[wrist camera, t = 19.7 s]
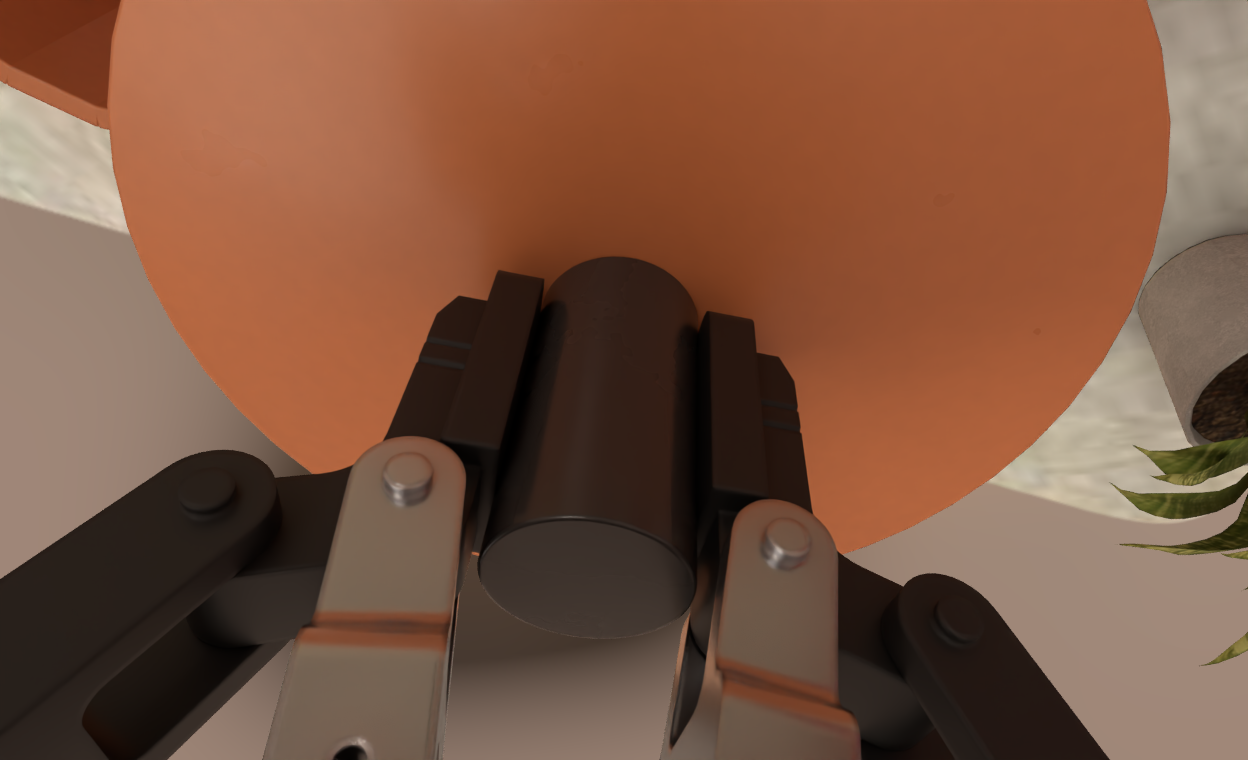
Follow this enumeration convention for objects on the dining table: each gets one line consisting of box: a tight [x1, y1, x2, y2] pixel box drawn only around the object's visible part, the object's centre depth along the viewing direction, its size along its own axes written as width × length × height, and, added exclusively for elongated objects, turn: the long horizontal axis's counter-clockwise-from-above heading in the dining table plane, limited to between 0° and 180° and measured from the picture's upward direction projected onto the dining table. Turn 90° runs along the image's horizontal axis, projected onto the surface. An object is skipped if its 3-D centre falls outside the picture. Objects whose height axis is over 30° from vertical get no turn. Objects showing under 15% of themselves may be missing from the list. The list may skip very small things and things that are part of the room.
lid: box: [107, 0, 1170, 639], centre depth 11 cm, size 16×16×6 cm
